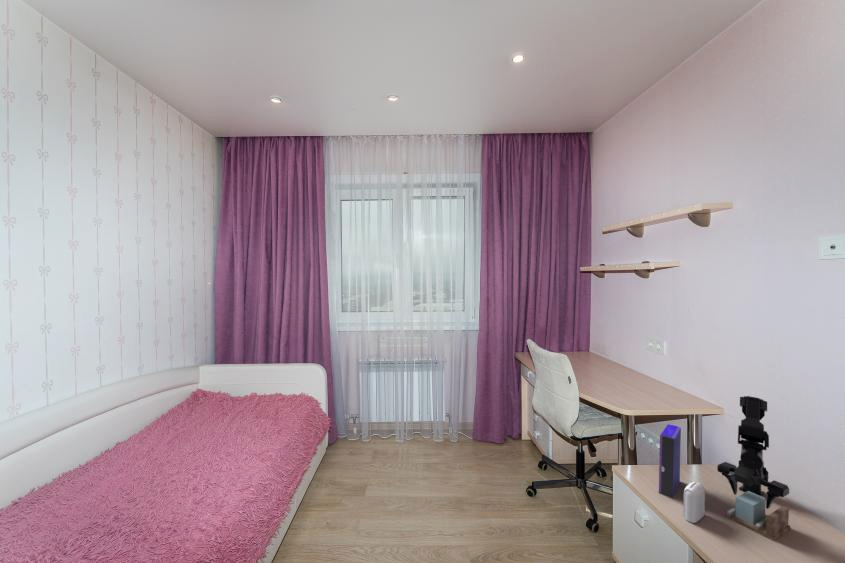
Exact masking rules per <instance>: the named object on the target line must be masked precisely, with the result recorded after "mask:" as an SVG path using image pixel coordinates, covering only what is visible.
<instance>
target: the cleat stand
mask: <svg viewBox="0 0 845 563" xmlns="http://www.w3.org/2000/svg"><path fill="white" fill-rule="evenodd" d="M722 514H723V515H722V516H723V517H725V518H727V519H729V520H731V521H733V522H735V523H737V524H738V525H741V526H743V527H745V528H747V529H749V530H750V531H753V532H755V533H757V534H759V535H761V536H763V537H765V538H767V539H769V540H771V541H776V540H777V539H779V538H780V537H781V536H782V535H784V534H785V533H787V531H789V530H790V529H791V525H789V507H787V506H785V505H782V506H780V507H779V508H777V509H775V510H774V511H772V512H771V513H769V514H765V518H763V519H762V520H760V521H759V522H757V523H756V524H754V525H752V524H750V523H748V522H746V521H744V520H742V519H740V518H738V517H736V505H735V506H734V507H731V508H730V509H728V510H726V511H724V512H723V513H722Z"/></svg>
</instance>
